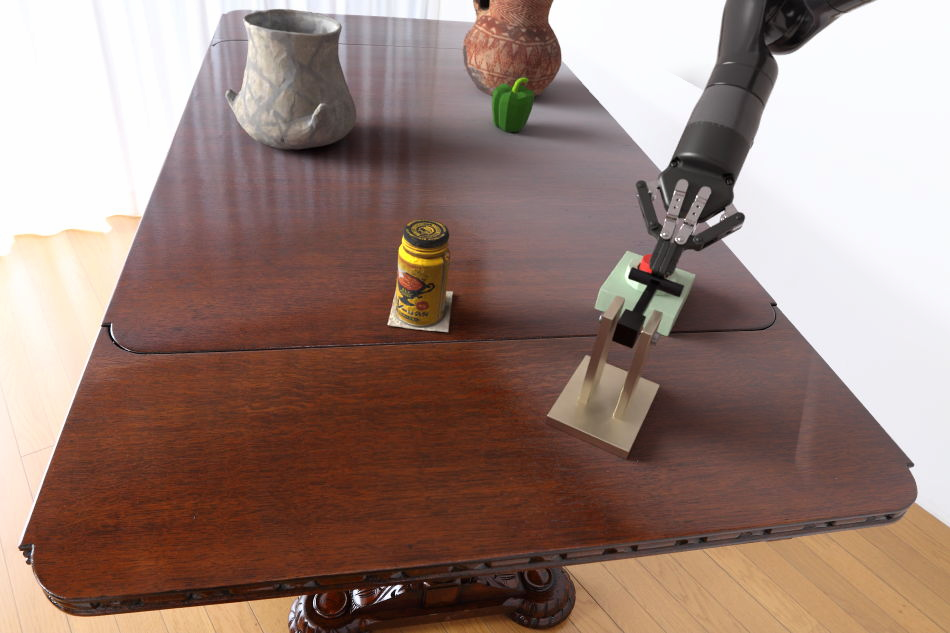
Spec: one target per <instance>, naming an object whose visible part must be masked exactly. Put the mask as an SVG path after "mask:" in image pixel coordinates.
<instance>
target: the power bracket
mask: <svg viewBox="0 0 950 633" xmlns="http://www.w3.org/2000/svg"><path fill="white" fill-rule="evenodd" d="M624 302H625V298H623V297H620V296H617V295H616V297H615V298H614V300H613V301H612V303H611V304H610V306H609V307H608V309H607V310H606V312H604V311H603V312H602V311H601V314H600V316H599V319H598V322H597V323H598V326H599V328H598V330H597V334H596V337H595V340H594V345H593V347H592V352H591V354H590V355H587V354H585V356H584V357H583V358H582V361H580V363H579V365H578V366H577V368H576V369H575V371H574V373H573V374H572V376H571V377H570V379H569V381H568V382H567V384H565V386H564V388H563V390H562V392H561V393H560V394H559V395H558V398H557V399H556V401H555V402H554V404H553V406H552V407H551V409H550V410H549V412H548V413H547V414H546V418H545V421H544V422H545V424H546V425H548V426H550V427H553V428H555V429H557V430H559V431H562V432H564V433H566V434H568V435H571V436H573V437H575V438H577V439H580V440H582V441H583V442H586V443H588V444H591V445H592V446H595V447H597V448H599V449H602V450H604V451H606V452H608V453H610V454H613V455H615V456H617V457H619V458H621V459H623V460H627V459H628V458H629V454H630V453H631V450H632V448H633V446H634V444H635V442H636V439H637V437H638V435H639V433H640V431H641V429H642V426H643V424H644V422H645V419H646V418H647V416H648V413H649V412H650V409H651V407H652V405H653V402H654V401H655V398H656V395H657V394H658V391H659V389H660V385H661V384H659V383H657V382H654V381H651V380H649V379H646V378H644V377H642V374H643V372H644V369H645V366H646V363H647V361H648V358H649V355H650V352H651V349H652V347H656V346H657V343H658V342H659V339H660V336H661V334H660V333H659V332H657V330H658V327H659V324H660V322H661V319H662V316H663V313H662V312H660V311H657V310H653V312H652V314H651V316H650V318H649V320H648V321H647V323H646V325H645V327H643V328H642V331H641V334H640V336H639V338H638V341H637V344H636V348H635V350H634V353H633V356H632V359H631V362H630V365H629V368H628V371H627V370H624V369H621V368H619V367H618V366H615V365H612V364H609V363H607V359H608V356H609V353H610V350H611V347H612V344H613V341H612V338H613V334H614V331H615V328H616V325H617V322H618V320H619V319H620V315H621V312H622V309H623V305H624Z"/></svg>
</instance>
